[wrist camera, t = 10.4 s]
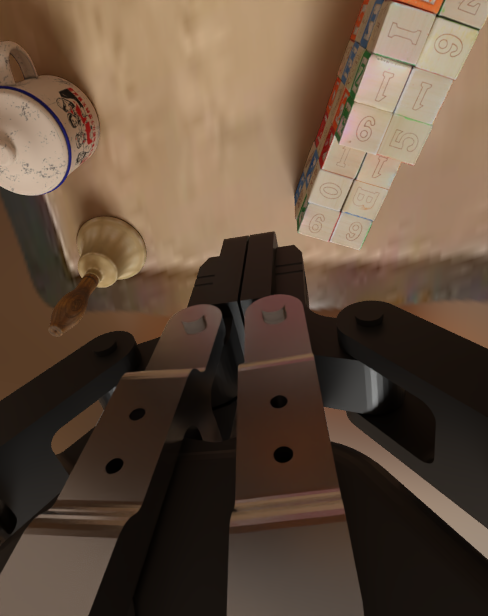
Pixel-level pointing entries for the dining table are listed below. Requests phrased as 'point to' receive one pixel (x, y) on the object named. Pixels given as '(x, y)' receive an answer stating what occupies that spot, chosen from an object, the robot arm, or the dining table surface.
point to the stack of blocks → (382, 110)
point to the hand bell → (99, 266)
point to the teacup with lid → (41, 127)
